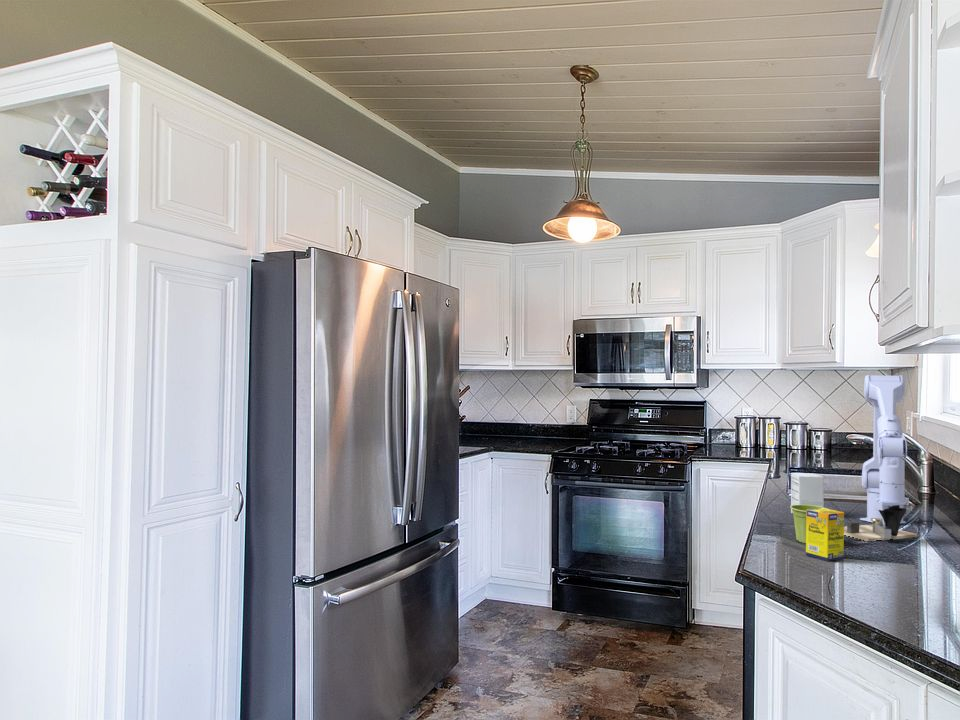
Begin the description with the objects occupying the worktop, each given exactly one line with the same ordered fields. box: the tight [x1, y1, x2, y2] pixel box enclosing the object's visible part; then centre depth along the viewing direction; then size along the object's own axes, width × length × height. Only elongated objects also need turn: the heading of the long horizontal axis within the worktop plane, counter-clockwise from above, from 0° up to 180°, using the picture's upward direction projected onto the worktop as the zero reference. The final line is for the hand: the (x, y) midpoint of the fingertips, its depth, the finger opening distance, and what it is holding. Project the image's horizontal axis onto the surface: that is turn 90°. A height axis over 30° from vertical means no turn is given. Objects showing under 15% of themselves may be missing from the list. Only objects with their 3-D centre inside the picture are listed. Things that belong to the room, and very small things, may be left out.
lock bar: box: [871, 518, 891, 539], centre depth 185 cm, size 10×3×3 cm, turn 167°
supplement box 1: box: [790, 472, 825, 514], centre depth 214 cm, size 7×7×13 cm
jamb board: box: [844, 521, 918, 542], centre depth 190 cm, size 18×13×4 cm
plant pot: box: [790, 505, 829, 544], centre depth 179 cm, size 9×9×9 cm
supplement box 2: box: [805, 507, 845, 562], centre depth 164 cm, size 6×6×11 cm
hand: (892, 535), depth 183 cm, fingers closed, pressing on lock bar
